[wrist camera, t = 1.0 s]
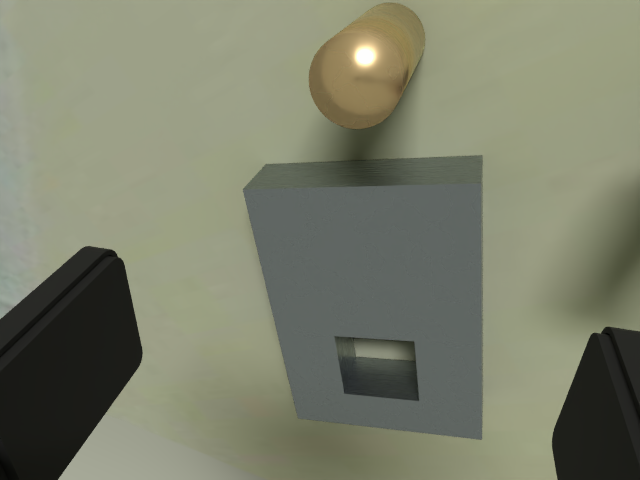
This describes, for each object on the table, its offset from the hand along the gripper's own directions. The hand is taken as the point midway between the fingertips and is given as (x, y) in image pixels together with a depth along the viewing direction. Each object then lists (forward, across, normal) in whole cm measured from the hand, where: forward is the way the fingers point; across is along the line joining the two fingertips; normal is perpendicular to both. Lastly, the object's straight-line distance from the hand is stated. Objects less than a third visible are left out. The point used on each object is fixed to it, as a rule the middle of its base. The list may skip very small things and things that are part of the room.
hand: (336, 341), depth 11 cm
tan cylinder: (+23, +2, -1) cm, 23 cm away
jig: (+23, +1, +16) cm, 28 cm away
